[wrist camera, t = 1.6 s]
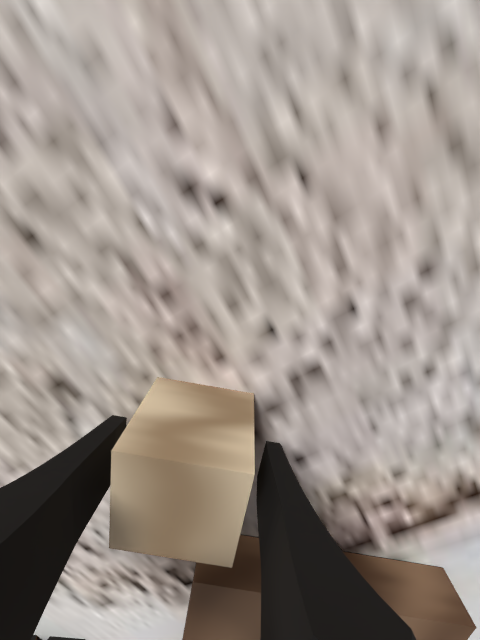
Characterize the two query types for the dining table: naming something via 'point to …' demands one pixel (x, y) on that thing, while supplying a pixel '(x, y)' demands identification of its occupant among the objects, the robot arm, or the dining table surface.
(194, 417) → the maple block
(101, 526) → the dining table surface
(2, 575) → the robot arm
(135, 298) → the dining table surface
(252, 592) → the walnut base
